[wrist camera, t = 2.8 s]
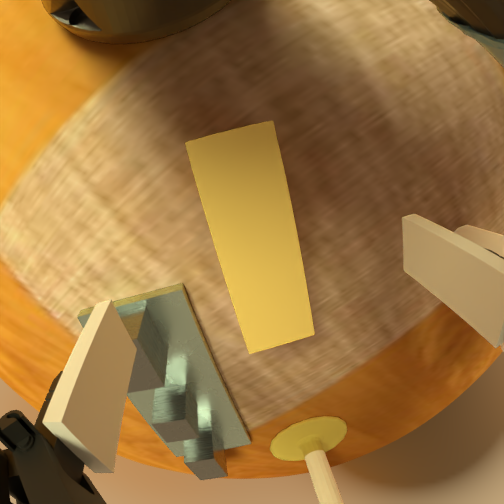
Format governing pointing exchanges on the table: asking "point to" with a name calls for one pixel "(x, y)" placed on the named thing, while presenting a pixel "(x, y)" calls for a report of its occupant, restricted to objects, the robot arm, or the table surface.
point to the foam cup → (483, 241)
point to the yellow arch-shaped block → (254, 232)
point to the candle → (313, 451)
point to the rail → (179, 380)
